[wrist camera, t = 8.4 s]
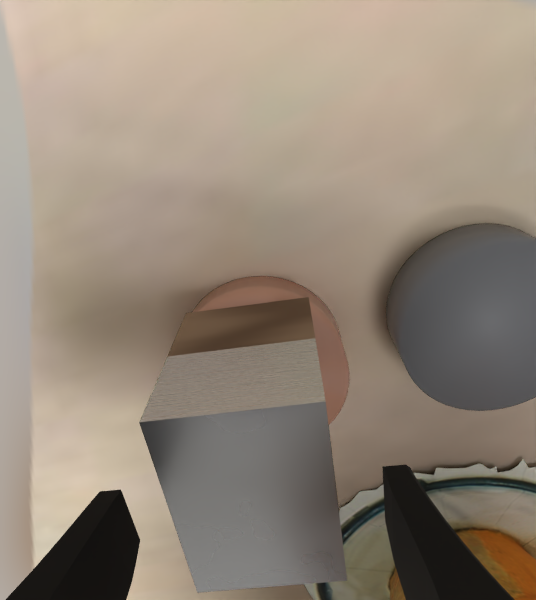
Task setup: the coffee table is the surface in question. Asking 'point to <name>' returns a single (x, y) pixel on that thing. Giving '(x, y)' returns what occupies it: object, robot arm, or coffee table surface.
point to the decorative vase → (461, 517)
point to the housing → (247, 449)
